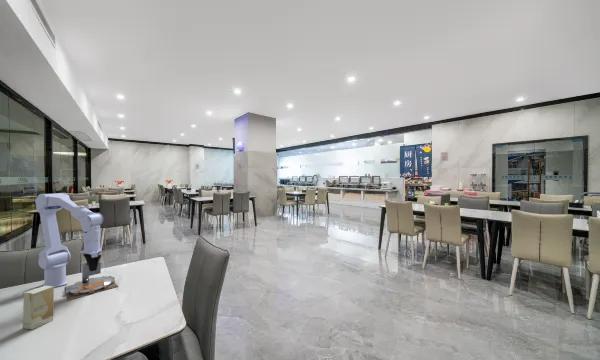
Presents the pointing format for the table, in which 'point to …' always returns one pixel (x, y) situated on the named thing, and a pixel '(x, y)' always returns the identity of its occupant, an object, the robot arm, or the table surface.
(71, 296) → the walnut board
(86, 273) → the gray cube
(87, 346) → the table surface
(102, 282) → the sprocket
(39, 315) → the skincare box
